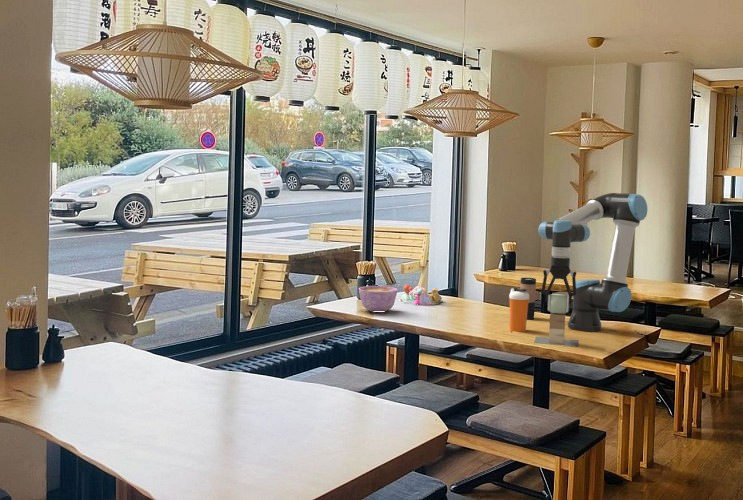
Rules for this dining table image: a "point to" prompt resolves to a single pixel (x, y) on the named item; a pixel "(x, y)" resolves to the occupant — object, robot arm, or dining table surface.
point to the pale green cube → (558, 303)
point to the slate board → (566, 343)
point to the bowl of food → (377, 297)
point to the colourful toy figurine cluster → (420, 296)
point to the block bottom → (556, 335)
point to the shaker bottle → (518, 309)
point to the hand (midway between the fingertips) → (557, 310)
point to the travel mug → (531, 290)
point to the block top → (557, 320)
